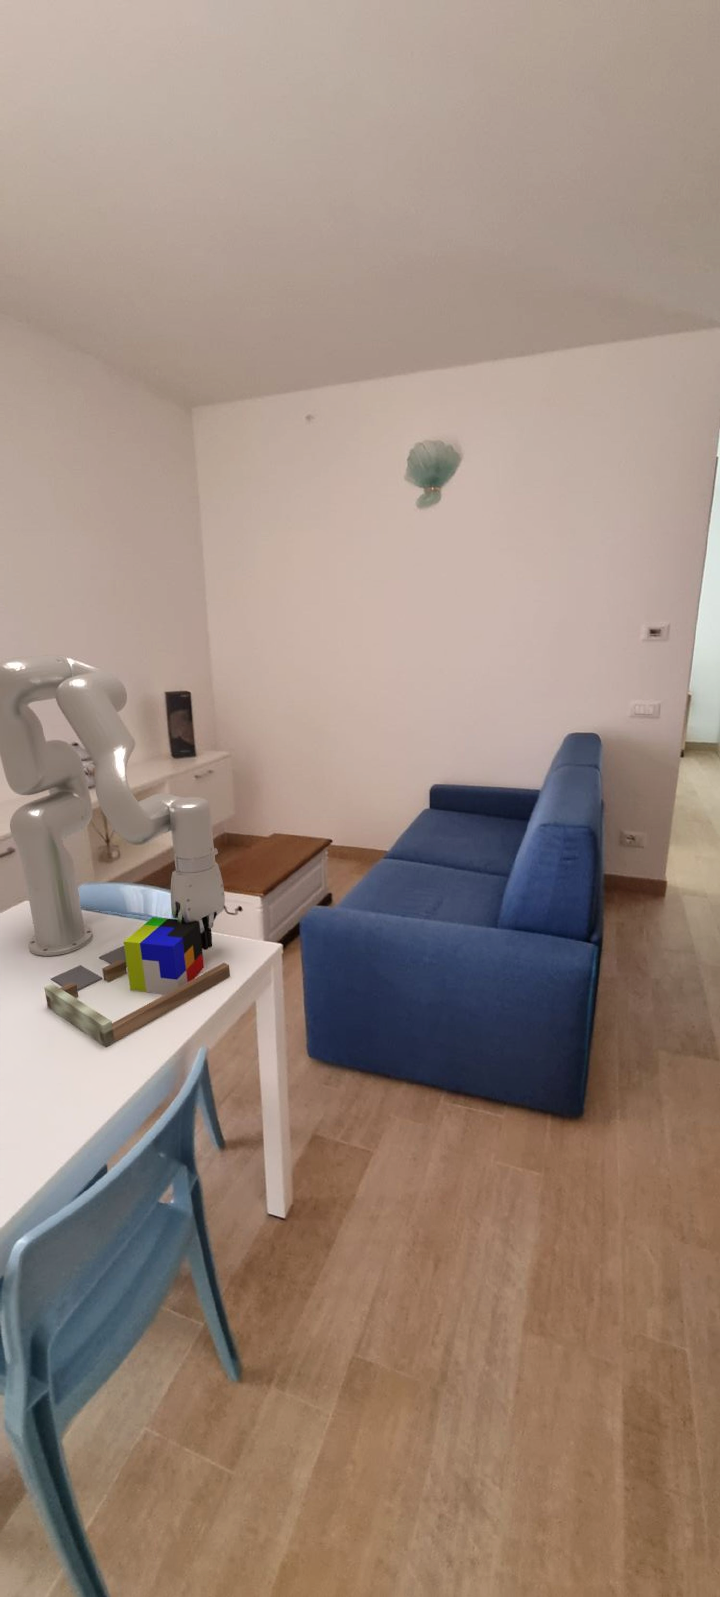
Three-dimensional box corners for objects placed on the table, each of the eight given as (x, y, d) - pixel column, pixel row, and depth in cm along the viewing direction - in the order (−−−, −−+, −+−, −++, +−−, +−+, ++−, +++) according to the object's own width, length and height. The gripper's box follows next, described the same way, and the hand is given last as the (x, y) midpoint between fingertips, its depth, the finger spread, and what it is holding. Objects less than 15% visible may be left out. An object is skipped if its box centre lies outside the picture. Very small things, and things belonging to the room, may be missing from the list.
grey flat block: (51, 979, 124) (51, 978, 124) (80, 966, 129) (80, 965, 128) (72, 993, 119) (72, 991, 119) (102, 978, 124) (102, 977, 124)
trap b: (99, 957, 132) (98, 956, 131) (125, 946, 136) (125, 944, 136) (121, 970, 127) (121, 968, 127) (147, 957, 131) (147, 956, 131)
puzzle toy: (179, 995, 117) (173, 946, 115) (130, 990, 120) (123, 941, 117) (204, 967, 127) (199, 921, 124) (158, 962, 129) (152, 917, 126)
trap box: (47, 1006, 115) (44, 987, 114) (169, 948, 135) (167, 930, 134) (106, 1047, 104) (102, 1025, 103) (230, 976, 123) (228, 957, 122)
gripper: (212, 846, 132) (220, 927, 137) (150, 869, 121) (161, 957, 126) (237, 853, 128) (244, 937, 133) (175, 878, 117) (185, 968, 122)
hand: (204, 946), depth 129 cm, fingers closed
